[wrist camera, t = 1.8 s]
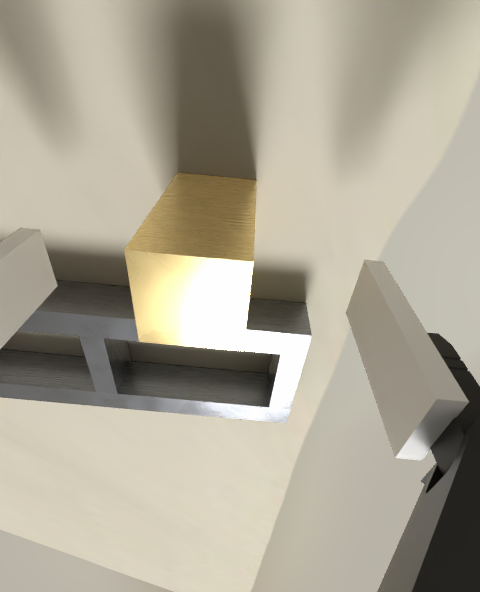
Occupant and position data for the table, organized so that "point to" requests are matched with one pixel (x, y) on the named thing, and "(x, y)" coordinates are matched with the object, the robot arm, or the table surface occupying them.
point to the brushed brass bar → (195, 263)
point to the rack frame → (149, 376)
